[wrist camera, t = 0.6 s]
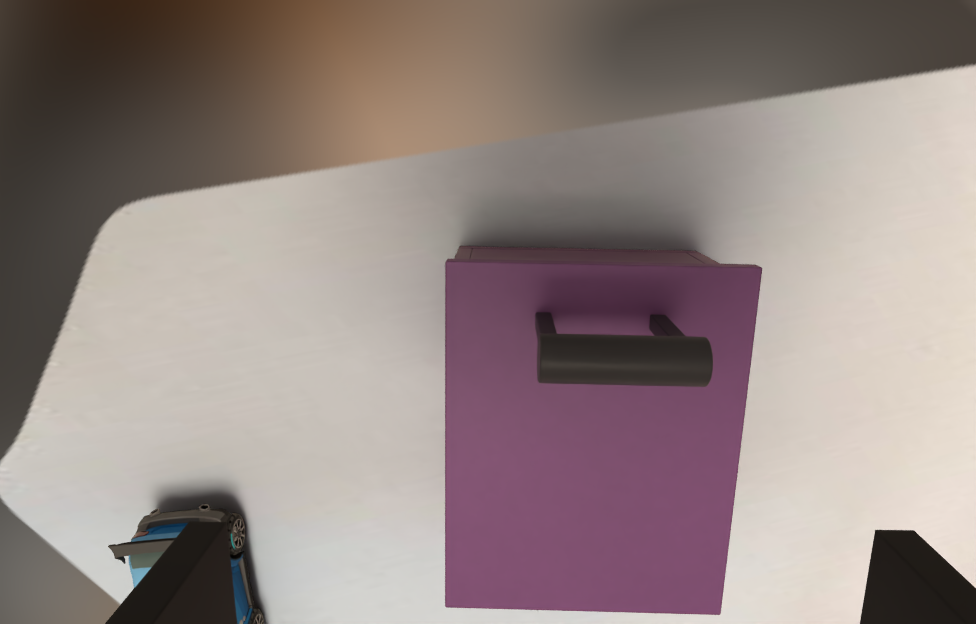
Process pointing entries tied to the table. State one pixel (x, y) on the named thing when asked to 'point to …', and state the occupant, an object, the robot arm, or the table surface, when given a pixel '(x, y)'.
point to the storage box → (582, 254)
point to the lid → (593, 432)
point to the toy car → (163, 531)
